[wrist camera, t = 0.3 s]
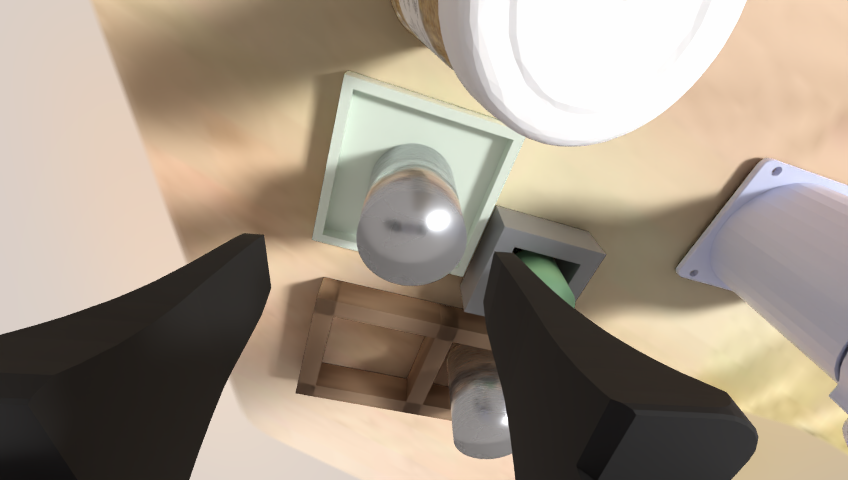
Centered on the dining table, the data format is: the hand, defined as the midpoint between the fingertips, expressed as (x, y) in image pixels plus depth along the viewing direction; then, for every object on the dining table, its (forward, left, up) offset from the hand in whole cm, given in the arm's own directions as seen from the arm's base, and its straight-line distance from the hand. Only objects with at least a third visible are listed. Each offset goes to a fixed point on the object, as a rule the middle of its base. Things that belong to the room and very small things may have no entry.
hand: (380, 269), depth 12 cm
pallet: (-6, +13, -10) cm, 17 cm away
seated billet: (-10, +13, -10) cm, 19 cm away
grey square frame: (-9, +4, -10) cm, 14 cm away
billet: (-1, +1, -9) cm, 9 cm away
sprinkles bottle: (0, -8, -10) cm, 13 cm away
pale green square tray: (-1, +1, -10) cm, 10 cm away
